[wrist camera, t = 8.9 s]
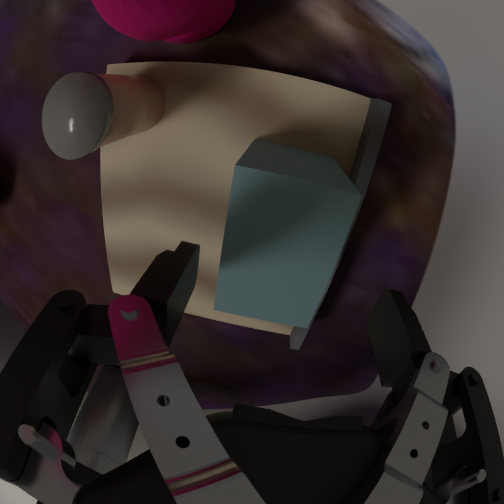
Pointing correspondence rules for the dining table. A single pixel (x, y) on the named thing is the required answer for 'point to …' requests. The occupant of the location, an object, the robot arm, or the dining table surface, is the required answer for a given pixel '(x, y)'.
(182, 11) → the pepper mill
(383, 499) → the robot arm
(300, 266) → the tea box
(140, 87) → the spice jar
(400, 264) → the dining table surface
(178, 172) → the shelf board
